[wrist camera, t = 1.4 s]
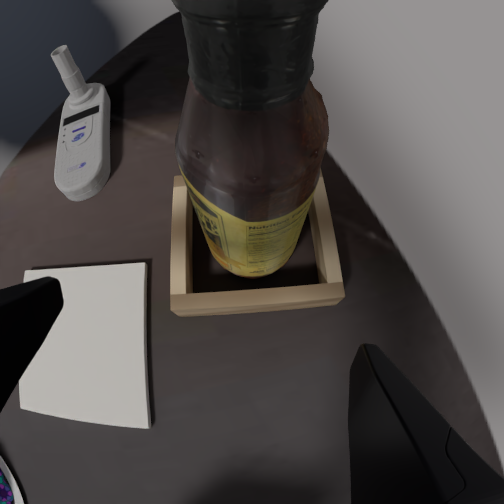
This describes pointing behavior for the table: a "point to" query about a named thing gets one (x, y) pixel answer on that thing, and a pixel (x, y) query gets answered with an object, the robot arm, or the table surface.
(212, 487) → the table surface
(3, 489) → the pudding
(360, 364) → the robot arm
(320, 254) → the bottle holder
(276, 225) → the sauce bottle
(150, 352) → the table surface
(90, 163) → the electronic device
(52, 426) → the table surface
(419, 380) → the table surface
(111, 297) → the coaster
